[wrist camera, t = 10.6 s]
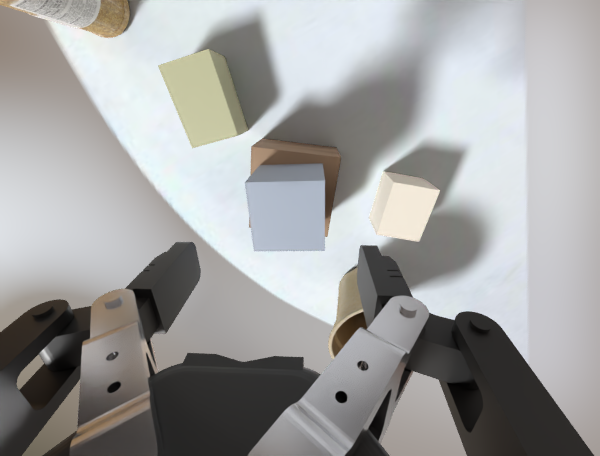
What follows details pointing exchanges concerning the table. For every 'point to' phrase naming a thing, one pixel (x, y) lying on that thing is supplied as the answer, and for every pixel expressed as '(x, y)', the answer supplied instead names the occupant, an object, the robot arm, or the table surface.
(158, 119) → the table surface
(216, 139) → the olive block
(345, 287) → the flower pot
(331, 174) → the walnut block
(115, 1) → the sprinkles bottle
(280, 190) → the slate block
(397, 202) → the cream block
